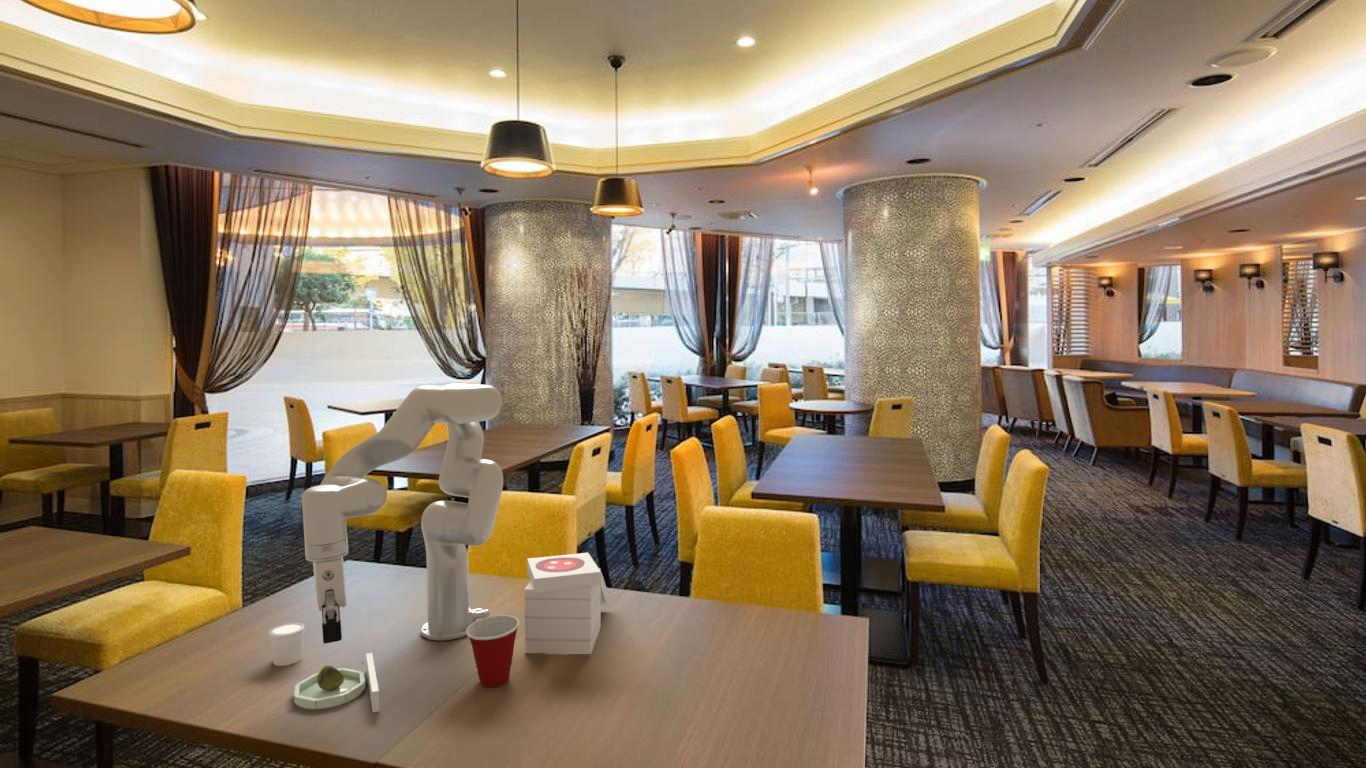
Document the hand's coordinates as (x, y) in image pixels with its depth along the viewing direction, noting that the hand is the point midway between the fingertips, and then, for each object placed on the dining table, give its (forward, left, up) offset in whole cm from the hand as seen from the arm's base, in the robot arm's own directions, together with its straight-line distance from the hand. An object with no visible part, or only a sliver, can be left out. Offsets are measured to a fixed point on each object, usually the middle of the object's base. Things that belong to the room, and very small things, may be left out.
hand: (332, 631), depth 140 cm
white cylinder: (+9, -20, -12) cm, 25 cm away
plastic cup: (-29, +10, -12) cm, 34 cm away
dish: (+1, 0, -12) cm, 12 cm away
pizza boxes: (-51, -6, -13) cm, 53 cm away
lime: (+1, +1, -12) cm, 12 cm away
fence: (-7, +3, -12) cm, 14 cm away
